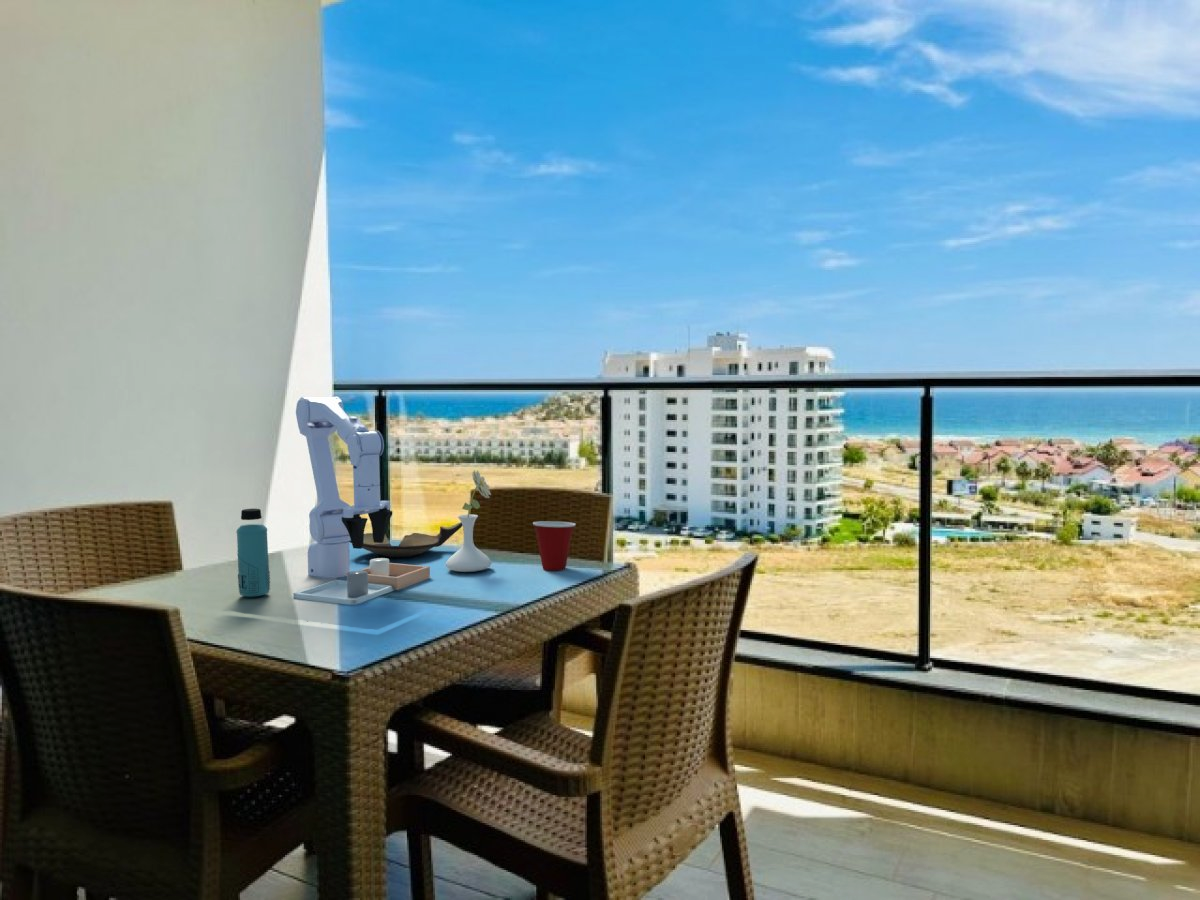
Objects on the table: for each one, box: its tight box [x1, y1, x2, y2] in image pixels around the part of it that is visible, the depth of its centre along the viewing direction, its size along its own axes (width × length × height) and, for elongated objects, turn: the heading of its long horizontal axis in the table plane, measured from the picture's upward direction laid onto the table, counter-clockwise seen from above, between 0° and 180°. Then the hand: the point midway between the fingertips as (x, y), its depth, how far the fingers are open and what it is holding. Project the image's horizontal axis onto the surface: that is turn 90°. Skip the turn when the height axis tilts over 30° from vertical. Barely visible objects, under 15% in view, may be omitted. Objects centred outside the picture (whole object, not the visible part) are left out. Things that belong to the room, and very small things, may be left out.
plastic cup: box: [532, 520, 577, 572], centre depth 224 cm, size 11×11×12 cm
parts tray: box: [292, 579, 395, 606], centre depth 195 cm, size 16×14×2 cm
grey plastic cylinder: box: [346, 570, 368, 598], centre depth 194 cm, size 4×4×5 cm
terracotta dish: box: [357, 562, 431, 591], centre depth 207 cm, size 13×13×4 cm
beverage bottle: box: [236, 508, 271, 597], centre depth 193 cm, size 6×7×20 cm
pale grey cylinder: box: [369, 557, 391, 576], centre depth 208 cm, size 4×4×5 cm
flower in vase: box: [445, 469, 492, 573], centre depth 222 cm, size 13×11×25 cm
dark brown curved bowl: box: [349, 521, 463, 558], centre depth 242 cm, size 22×30×8 cm
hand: (368, 545), depth 200 cm, fingers open, 7 cm apart
